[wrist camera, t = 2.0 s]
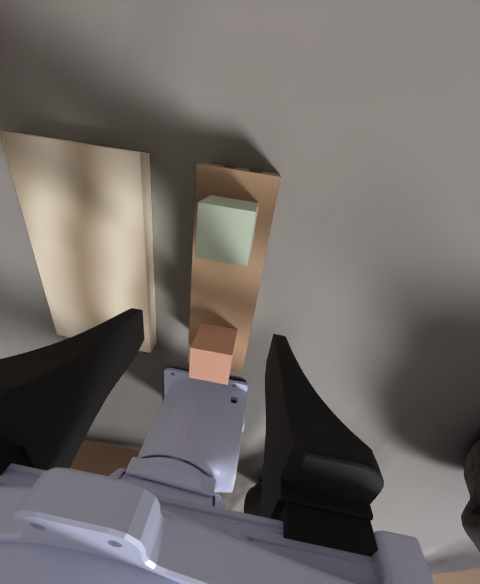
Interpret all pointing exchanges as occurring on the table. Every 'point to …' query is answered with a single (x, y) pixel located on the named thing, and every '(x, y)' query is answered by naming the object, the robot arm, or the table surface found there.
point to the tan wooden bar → (225, 276)
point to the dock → (87, 228)
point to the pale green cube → (225, 229)
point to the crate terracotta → (212, 353)
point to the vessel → (472, 495)
